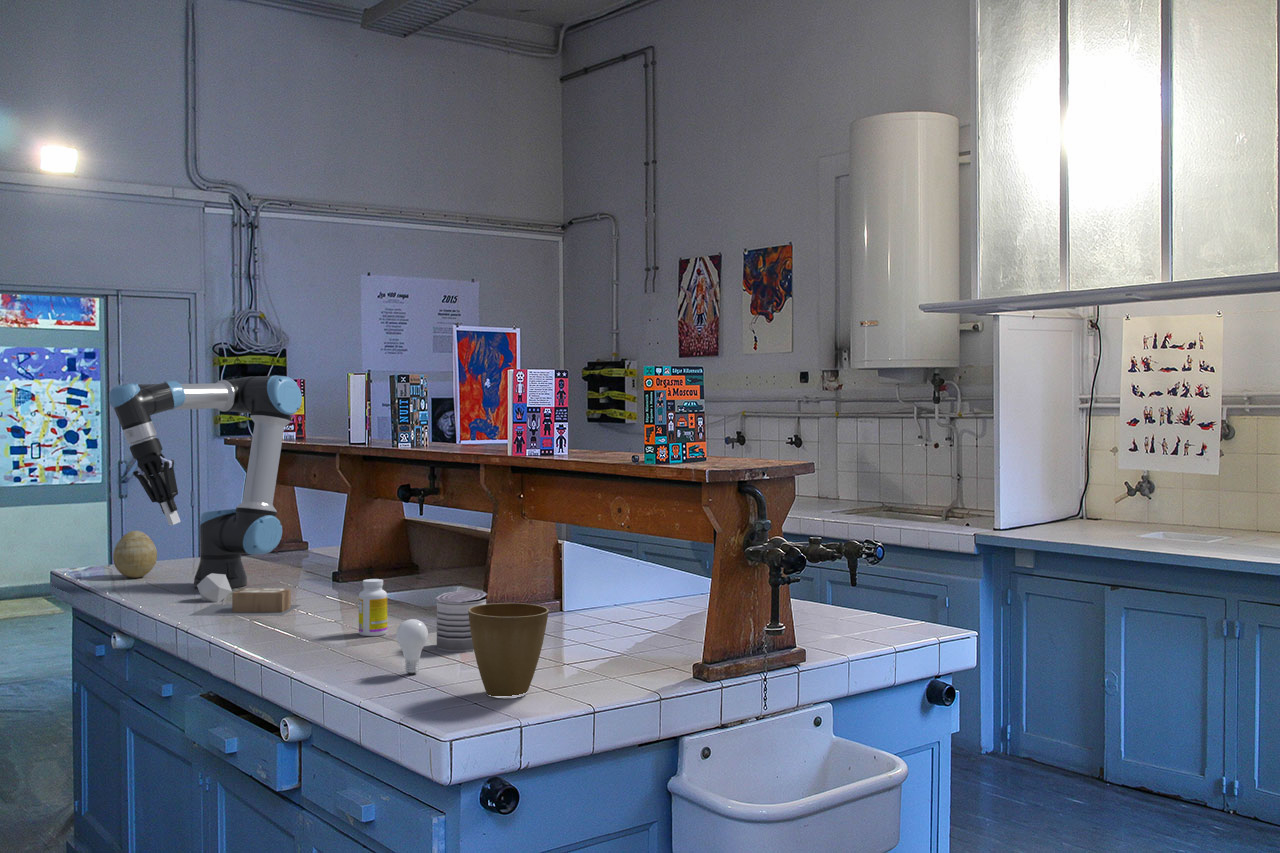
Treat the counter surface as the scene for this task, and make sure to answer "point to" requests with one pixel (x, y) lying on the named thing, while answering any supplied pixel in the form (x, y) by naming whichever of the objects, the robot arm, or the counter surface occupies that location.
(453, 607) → the can
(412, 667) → the lightbulb
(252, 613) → the mat
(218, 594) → the die
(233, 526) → the robot arm
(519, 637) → the plant pot
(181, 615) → the counter surface
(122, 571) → the fossilized egg
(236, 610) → the label block
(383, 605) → the supplement bottle
